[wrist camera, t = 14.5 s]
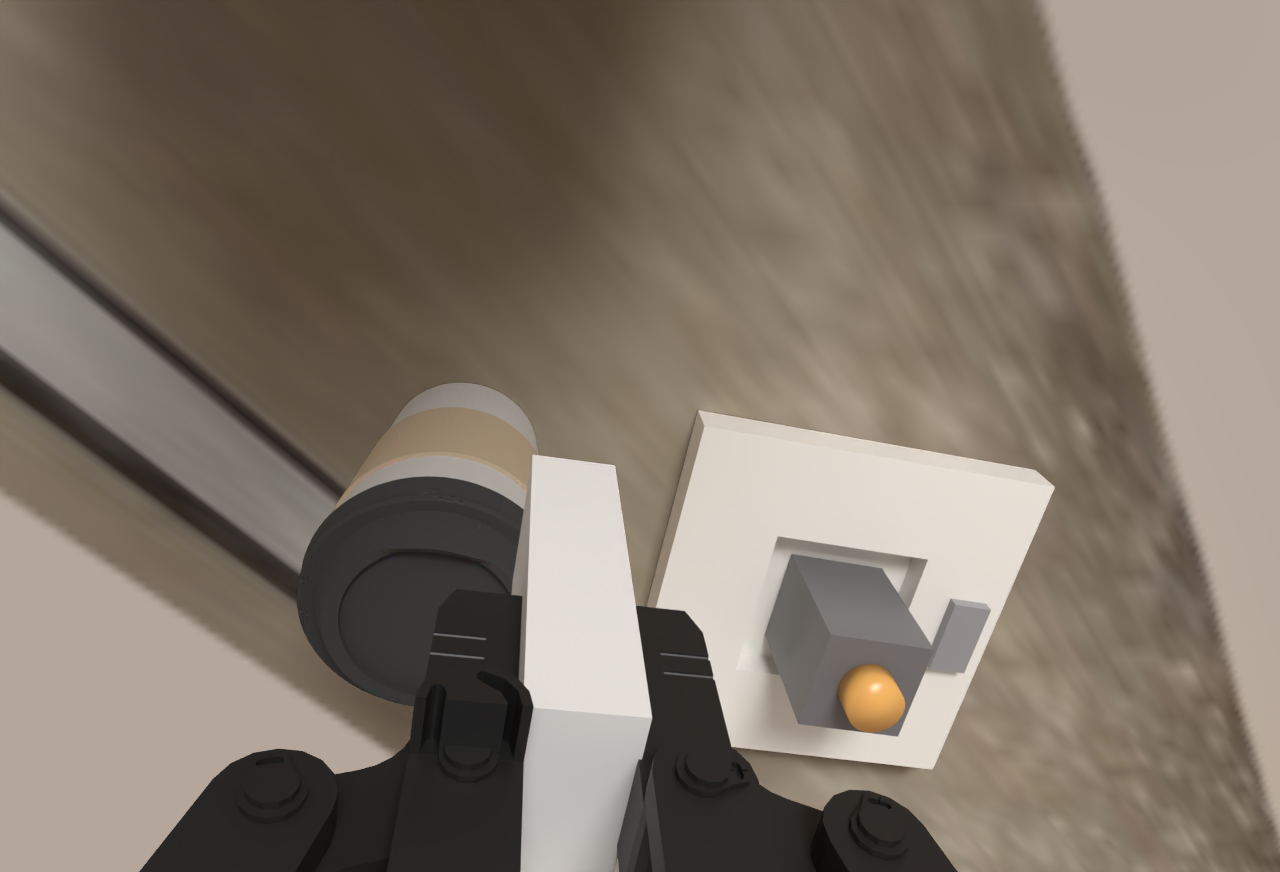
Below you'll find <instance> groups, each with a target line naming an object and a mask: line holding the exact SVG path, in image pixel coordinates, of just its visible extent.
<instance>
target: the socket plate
mask: <svg viewBox="0 0 1280 872" xmlns="http://www.w3.org/2000/svg"><path fill="white" fill-rule="evenodd" d="M1054 488H1055V487H1054V486H1053V485H1052V484H1051V483H1050V482H1048V481H1047V480H1046V479H1045V478H1044V477H1043V476H1041V475H1040V474H1039V473H1038V472H1037V471H1036V470H1032V469H1027V468H1021V467H1016V466H1010V465H1004V464H999V463H993V462H987V461H982V460H976V459H970V458H965V457H959V456H954V455H948V454H942V453H937V452H931V451H925V450H920V449H914V448H908V447H903V446H897V445H892V444H886V443H880V442H875V441H869V440H863V439H858V438H852V437H846V436H841V435H835V434H830V433H824V432H818V431H813V430H807V429H801V428H796V427H790V426H784V425H779V424H773V423H767V422H762V421H756V420H751V419H745V418H739V417H734V416H728V415H722V414H717V413H711V412H705V411H700V410H698V412H697V416H696V419H695V423H694V427H693V431H692V435H691V438H690V442H689V446H688V450H687V454H686V457H685V461H684V465H683V469H682V473H681V476H680V480H679V484H678V488H677V492H676V495H675V499H674V503H673V507H672V511H671V514H670V518H669V522H668V526H667V530H666V534H665V537H664V541H663V545H662V549H661V553H660V556H659V560H658V564H657V568H656V572H655V575H654V579H653V583H652V587H651V591H650V594H649V598H648V602H647V606H646V607H652V608H662V609H671V610H681V611H685V612H686V613H687V614H688V615H689V616H690V618H691V619H692V620H693V621H694V623H695V624H696V625H697V626H698V627H699V629H700V630H701V631H702V632H703V635H704V639H705V643H706V647H707V651H708V655H709V657H708V660H710V663H711V667H712V671H713V680H715V683H716V687H717V691H718V695H719V699H720V703H721V707H722V711H723V715H724V719H725V723H726V727H727V731H728V735H729V739H730V743H731V747H738V748H747V749H756V750H765V751H773V752H782V753H791V754H800V755H809V756H818V757H827V758H836V759H844V760H853V761H862V762H871V763H880V764H889V765H898V766H907V767H915V768H924V769H933V768H934V765H935V763H936V761H937V758H938V756H939V754H940V752H941V749H942V747H943V745H944V742H945V740H946V738H947V735H948V733H949V731H950V728H951V726H952V724H953V721H954V719H955V717H956V715H957V712H958V710H959V708H960V705H961V703H962V701H963V698H964V696H965V694H966V691H967V689H968V687H969V685H970V682H971V680H972V678H973V675H974V673H975V671H976V668H977V666H978V664H979V661H980V659H981V657H982V654H983V652H984V650H985V648H986V645H987V643H988V641H989V638H990V636H991V634H992V631H993V629H994V627H995V624H996V622H997V620H998V618H999V615H1000V613H1001V611H1002V608H1003V606H1004V604H1005V601H1006V599H1007V597H1008V594H1009V592H1010V590H1011V588H1012V585H1013V583H1014V581H1015V578H1016V576H1017V574H1018V571H1019V569H1020V567H1021V564H1022V562H1023V560H1024V557H1025V555H1026V553H1027V551H1028V548H1029V546H1030V544H1031V541H1032V539H1033V537H1034V534H1035V532H1036V530H1037V527H1038V525H1039V523H1040V521H1041V518H1042V516H1043V514H1044V511H1045V509H1046V507H1047V504H1048V502H1049V500H1050V497H1051V495H1052V493H1053V491H1054ZM792 554H795V555H801V556H807V557H814V558H820V559H826V560H832V561H839V562H845V563H851V564H858V565H864V566H870V567H876V568H882V569H883V571H884V572H885V574H886V575H887V577H888V578H889V580H890V582H891V583H892V585H893V586H894V588H895V589H896V591H897V592H898V594H899V596H900V597H901V599H902V600H903V602H904V603H905V605H906V606H907V608H908V609H909V611H910V613H911V614H912V616H913V617H914V619H915V620H916V622H917V623H918V625H919V627H920V628H921V630H922V631H923V633H924V634H925V636H926V637H927V639H928V640H929V642H930V644H931V645H932V647H933V648H934V652H933V654H932V656H931V659H930V661H929V664H928V666H927V668H926V671H925V673H924V676H923V678H922V680H921V683H920V685H919V688H918V690H917V692H916V695H915V697H914V700H913V702H912V704H911V707H910V709H909V712H908V714H907V716H906V719H905V721H904V723H903V726H902V728H901V731H900V733H899V735H898V737H897V736H889V735H881V734H873V733H865V732H857V731H849V730H841V729H833V728H825V727H817V726H809V725H801V724H798V722H797V720H796V717H795V714H794V712H793V709H792V706H791V703H790V701H789V698H788V695H787V693H786V690H785V687H784V685H783V682H782V679H781V677H780V674H779V671H778V669H777V666H776V663H775V660H774V658H773V655H772V652H771V650H770V647H769V644H768V642H767V639H766V636H765V633H766V630H767V627H768V624H769V621H770V618H771V615H772V612H773V609H774V606H775V603H776V600H777V597H778V594H779V591H780V588H781V585H782V582H783V579H784V576H785V573H786V570H787V567H788V564H789V561H790V558H791V555H792Z"/></svg>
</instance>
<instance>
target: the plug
mask: <svg viewBox="0 0 1280 872" xmlns="http://www.w3.org/2000/svg"><path fill="white" fill-rule="evenodd" d="M765 636H766V639H767V642H768V644H769V647H770V650H771V652H772V655H773V658H774V660H775V663H776V666H777V669H778V671H779V674H780V677H781V679H782V682H783V685H784V687H785V690H786V693H787V695H788V698H789V701H790V703H791V706H792V709H793V712H794V714H795V717H796V720H797V722H798V724H801V725H809V726H817V727H825V728H833V729H841V730H849V731H857V732H865V733H873V734H881V735H889V736H897V737H898V735H899V733H900V731H901V728H902V726H903V723H904V721H905V719H906V716H907V714H908V712H909V709H910V707H911V704H912V702H913V700H914V697H915V695H916V692H917V690H918V688H919V685H920V683H921V680H922V678H923V676H924V673H925V671H926V668H927V666H928V664H929V661H930V659H931V656H932V654H933V652H934V648H933V647H932V645H931V644H930V642H929V640H928V639H927V637H926V636H925V634H924V633H923V631H922V630H921V628H920V627H919V625H918V623H917V622H916V620H915V619H914V617H913V616H912V614H911V613H910V611H909V609H908V608H907V606H906V605H905V603H904V602H903V600H902V599H901V597H900V596H899V594H898V592H897V591H896V589H895V588H894V586H893V585H892V583H891V582H890V580H889V578H888V577H887V575H886V574H885V572H884V571H883V569H882V568H876V567H870V566H864V565H858V564H851V563H845V562H839V561H832V560H826V559H820V558H814V557H807V556H801V555H795V554H792V555H791V558H790V561H789V564H788V567H787V570H786V573H785V576H784V579H783V582H782V585H781V588H780V591H779V594H778V597H777V600H776V603H775V606H774V609H773V612H772V615H771V618H770V621H769V624H768V627H767V630H766V633H765Z"/></svg>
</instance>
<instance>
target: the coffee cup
mask: <svg viewBox="0 0 1280 872" xmlns="http://www.w3.org/2000/svg"><path fill="white" fill-rule="evenodd" d="M532 455H538V449H537V442H536V437H535V433H534V430H533V428H532V425H531V423H530V421H529V419H528V418H527V416H526V415H525V413H524V412H523V411H522V410H521V409H520V407H519V406H518V405H517V404H515V403H514V402H513V401H512V400H511V399H509V398H508V397H507V396H505V395H503V394H502V393H500V392H498V391H496V390H494V389H491V388H489V387H486V386H482V385H478V384H472V383H449V384H443V385H439V386H436V387H433V388H430V389H428V390H426V391H424V392H422V393H420V394H419V395H417V396H416V397H414V398H413V399H412V400H411V401H410V402H408V403H407V405H406V406H405V407H404V408H403V409H402V410H401V412H400V413H399V415H398V416H397V418H396V420H395V421H394V423H393V424H392V426H391V427H390V429H389V430H388V431H387V432H386V433H385V434H384V435H383V436H382V437H381V438H380V439H379V441H378V442H377V443H376V445H375V446H374V448H373V450H372V451H371V453H370V454H369V456H368V457H367V459H366V460H365V462H364V463H363V465H362V466H361V468H360V469H359V471H358V472H357V474H356V475H355V477H354V479H353V480H352V482H351V483H350V485H349V486H348V488H347V489H346V491H345V492H344V494H343V495H342V497H341V498H340V500H339V501H338V503H337V505H336V507H335V508H334V510H333V512H332V513H331V514H330V515H329V516H328V517H327V518H326V520H325V521H324V522H323V523H322V524H321V526H320V527H319V528H318V530H317V531H316V533H315V534H314V536H313V538H312V540H311V542H310V544H309V546H308V548H307V551H306V553H305V556H304V560H303V564H302V569H301V573H300V576H299V581H298V587H297V608H298V614H299V618H300V622H301V625H302V628H303V630H304V633H305V635H306V637H307V639H308V641H309V643H310V644H311V646H312V647H313V649H314V650H315V652H316V653H317V654H318V656H319V657H320V658H321V659H322V660H323V661H324V662H325V663H326V665H327V666H329V667H330V668H331V669H332V670H333V671H334V672H335V673H336V674H338V675H339V676H340V677H342V678H343V679H344V680H346V681H347V682H349V683H351V684H352V685H354V686H356V687H357V688H359V689H361V690H363V691H365V692H368V693H370V694H372V695H375V696H377V697H380V698H383V699H385V700H388V701H392V702H395V703H399V704H404V705H409V706H414V703H415V696H416V694H417V692H418V690H419V688H420V686H421V684H422V682H423V681H425V677H426V672H427V667H428V661H429V656H430V651H431V645H432V640H433V635H434V629H435V624H436V618H437V613H438V608H439V607H440V606H441V605H442V604H443V603H444V601H445V600H446V599H447V598H448V597H449V596H450V595H451V594H452V593H453V592H454V591H455V590H456V589H461V590H471V591H480V592H489V593H499V594H508V595H512V581H513V575H514V569H515V563H516V556H517V550H518V544H519V537H520V531H521V525H522V518H523V512H524V506H525V499H526V493H527V487H528V480H529V474H530V468H531V461H532Z"/></svg>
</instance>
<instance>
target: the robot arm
mask: <svg viewBox="0 0 1280 872" xmlns="http://www.w3.org/2000/svg"><path fill="white" fill-rule="evenodd" d="M708 657H709V655H708V651H707V647H706V643H705V639H704V635H703V632H702V631H701V630H700V629H699V627H698V626H697V625H696V624H695V623H694V621H693V620H692V619H691V618H690V616H689V615H688V614H687V613H686V612H685V611H681V610H671V609H662V608H652V607H643V606H636V604H635V598H634V591H633V584H632V577H631V571H630V564H629V557H628V550H627V543H626V537H625V530H624V523H623V516H622V510H621V503H620V496H619V489H618V482H617V476H616V469H615V465H608V464H600V463H593V462H585V461H577V460H570V459H562V458H554V457H547V456H539V455H532V461H531V468H530V474H529V480H528V487H527V493H526V499H525V506H524V512H523V518H522V525H521V531H520V537H519V544H518V550H517V556H516V563H515V569H514V575H513V581H512V595H508V594H499V593H489V592H480V591H471V590H461V589H456V590H455V591H454V592H453V593H452V594H451V595H450V596H449V597H448V598H447V599H446V600H445V601H444V603H443V604H442V605H441V606H440V607H439V608H438V613H437V618H436V624H435V629H434V635H433V640H432V645H431V651H430V656H429V661H428V667H427V672H426V677H425V681H423V682H422V684H421V686H420V688H419V690H418V692H417V694H416V696H415V703H414V711H413V720H412V729H411V738H410V741H409V742H408V743H407V744H406V746H405V747H404V748H403V749H402V750H401V751H399V752H398V753H397V754H396V755H394V756H393V757H392V758H390V759H388V760H386V761H384V762H382V763H380V764H378V765H375V766H372V767H368V768H365V769H361V770H357V771H352V772H345V773H340V774H334V773H333V772H332V771H331V770H330V769H329V767H328V766H327V765H326V764H325V763H324V762H323V761H322V760H321V759H319V758H316V757H314V756H312V755H310V754H307V753H305V752H303V751H296V750H286V749H274V750H268V751H262V752H256V753H252V754H250V755H248V756H246V757H244V758H242V759H239V760H237V761H235V762H233V763H231V764H229V766H227V767H226V768H225V769H224V770H223V771H221V772H220V773H219V774H218V775H217V776H216V777H215V778H214V779H213V780H212V781H211V782H210V783H209V785H208V786H207V787H206V789H205V790H204V791H203V792H202V794H201V795H200V796H199V797H198V799H197V800H196V801H195V802H194V804H193V805H192V806H191V807H190V809H189V810H188V811H187V812H186V814H185V815H184V816H183V818H182V819H181V820H180V821H179V823H178V824H177V825H176V826H175V828H174V829H173V830H172V831H171V832H170V834H169V835H168V836H167V838H166V839H165V840H164V841H163V843H162V844H161V845H160V847H159V848H158V849H157V850H156V851H155V853H154V854H153V855H152V856H151V858H150V859H149V860H148V862H147V863H146V864H145V865H144V866H143V868H142V869H141V870H140V872H614V870H615V866H616V862H617V858H618V862H619V872H957V870H956V869H955V868H954V866H953V865H952V864H951V862H950V861H949V859H948V858H947V857H946V855H945V854H944V853H943V851H942V850H941V848H940V847H939V846H938V844H937V843H936V842H935V840H934V839H933V837H932V836H931V835H930V833H929V832H928V831H927V829H926V828H925V826H924V825H923V824H922V823H921V822H920V821H919V820H918V819H917V818H916V817H915V816H914V815H913V814H912V813H911V812H910V811H909V810H908V809H906V808H905V807H903V806H902V805H900V804H899V803H897V802H895V801H894V800H892V799H891V798H889V797H886V796H883V795H880V794H877V793H874V792H871V791H863V790H848V791H845V792H842V793H839V794H836V795H834V796H833V797H832V798H831V799H830V801H829V802H828V803H827V804H826V805H825V807H824V810H823V811H821V810H818V809H815V808H812V807H809V806H806V805H803V804H800V803H797V802H794V801H791V800H788V799H786V798H783V797H781V796H779V795H777V794H774V793H772V792H770V791H769V790H767V789H766V788H764V787H762V786H761V785H759V782H758V779H757V777H756V775H755V773H754V771H753V769H752V767H751V765H750V763H749V762H747V761H746V760H745V759H744V758H743V757H742V756H741V755H740V754H739V753H738V752H737V751H736V750H734V749H732V747H731V743H730V739H729V735H728V731H727V727H726V723H725V719H724V715H723V711H722V707H721V703H720V699H719V695H718V691H717V687H716V683H715V680H713V671H712V667H711V663H710V660H708Z"/></svg>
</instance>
